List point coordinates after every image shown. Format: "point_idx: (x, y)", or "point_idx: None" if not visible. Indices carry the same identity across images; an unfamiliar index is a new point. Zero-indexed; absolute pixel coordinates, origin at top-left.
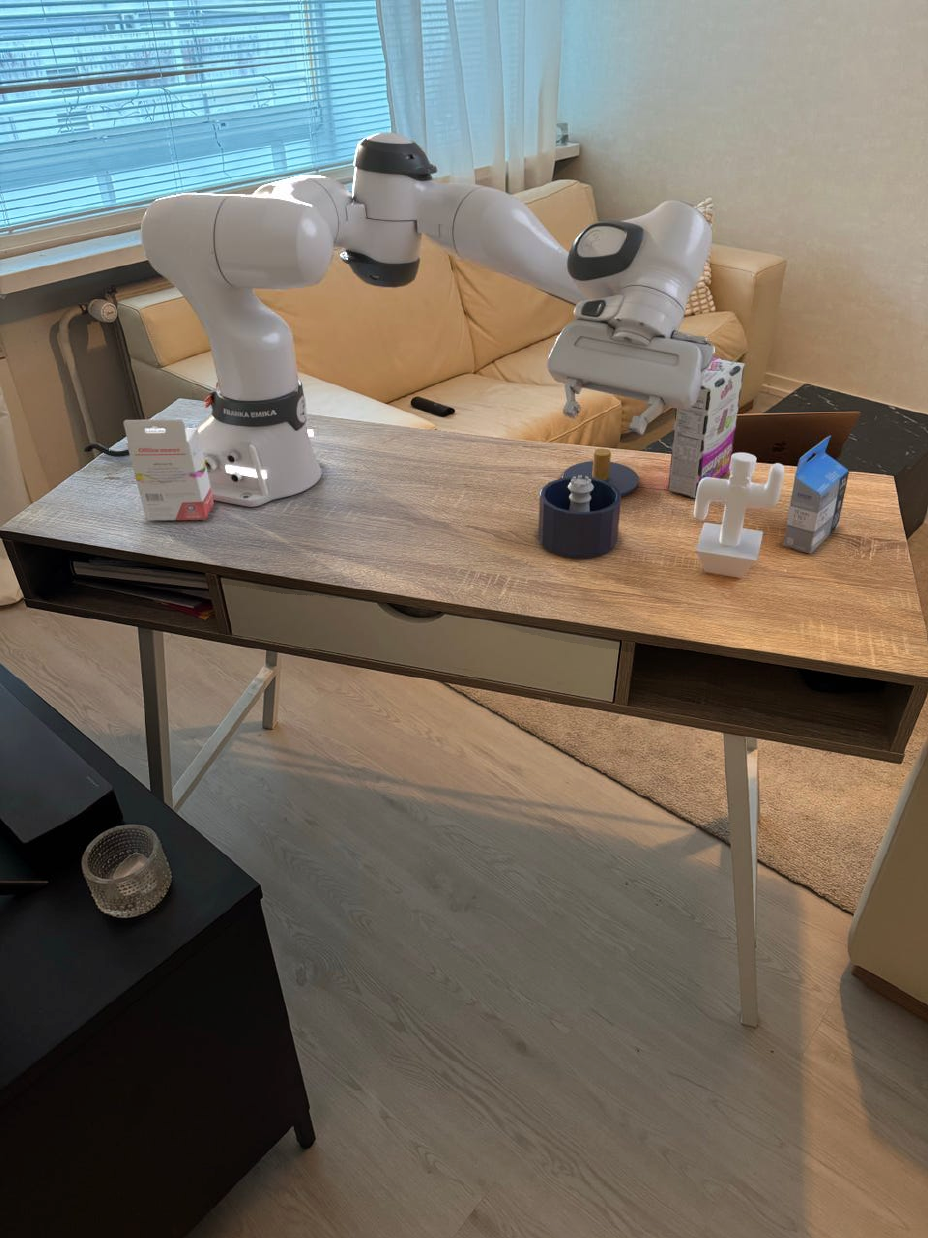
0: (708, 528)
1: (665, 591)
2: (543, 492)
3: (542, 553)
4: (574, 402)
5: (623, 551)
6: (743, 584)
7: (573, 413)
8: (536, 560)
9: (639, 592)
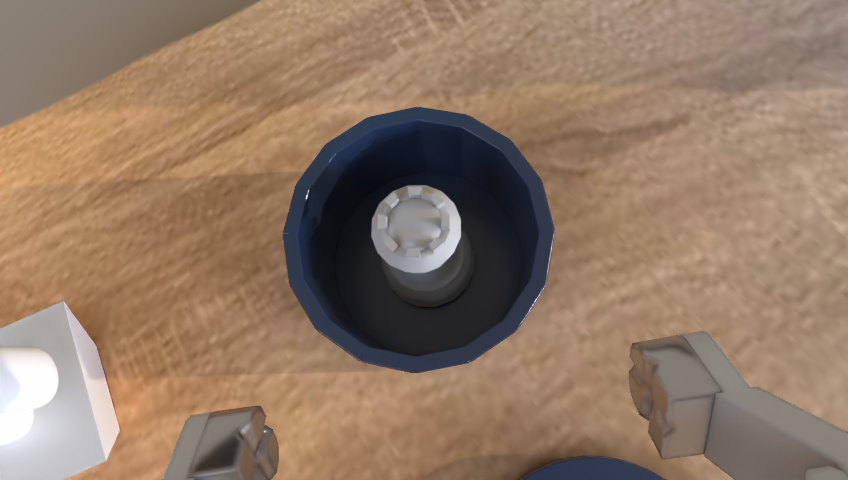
0: (81, 436)
1: (136, 215)
2: (517, 163)
3: None
4: (679, 387)
5: None
6: None
7: (634, 353)
8: None
9: (180, 174)
